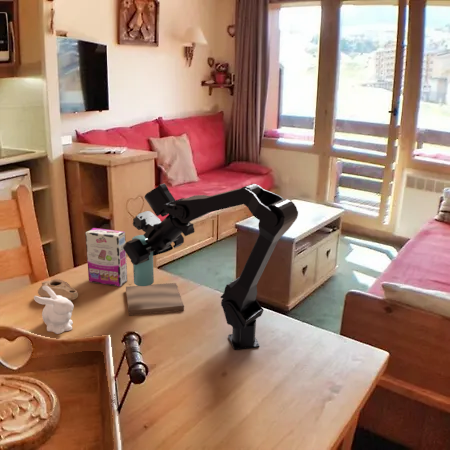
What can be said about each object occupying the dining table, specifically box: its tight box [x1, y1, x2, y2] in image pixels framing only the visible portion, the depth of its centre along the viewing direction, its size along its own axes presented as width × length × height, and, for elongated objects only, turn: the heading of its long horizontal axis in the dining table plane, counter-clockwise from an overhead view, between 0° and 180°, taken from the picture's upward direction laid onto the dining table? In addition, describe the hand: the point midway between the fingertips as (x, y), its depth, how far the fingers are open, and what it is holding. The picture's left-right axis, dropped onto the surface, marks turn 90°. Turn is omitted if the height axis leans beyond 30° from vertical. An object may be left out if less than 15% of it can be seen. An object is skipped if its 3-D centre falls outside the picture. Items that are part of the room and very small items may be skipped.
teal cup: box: [131, 234, 155, 286], centre depth 142 cm, size 6×6×13 cm
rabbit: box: [33, 285, 75, 335], centre depth 132 cm, size 12×9×12 cm
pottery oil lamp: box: [37, 278, 79, 301], centre depth 147 cm, size 9×12×7 cm
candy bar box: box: [85, 227, 128, 287], centre depth 157 cm, size 11×5×16 cm, turn 73°
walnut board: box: [125, 282, 185, 316], centre depth 148 cm, size 15×15×2 cm
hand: (139, 259), depth 143 cm, fingers closed on teal cup, 5 cm apart
